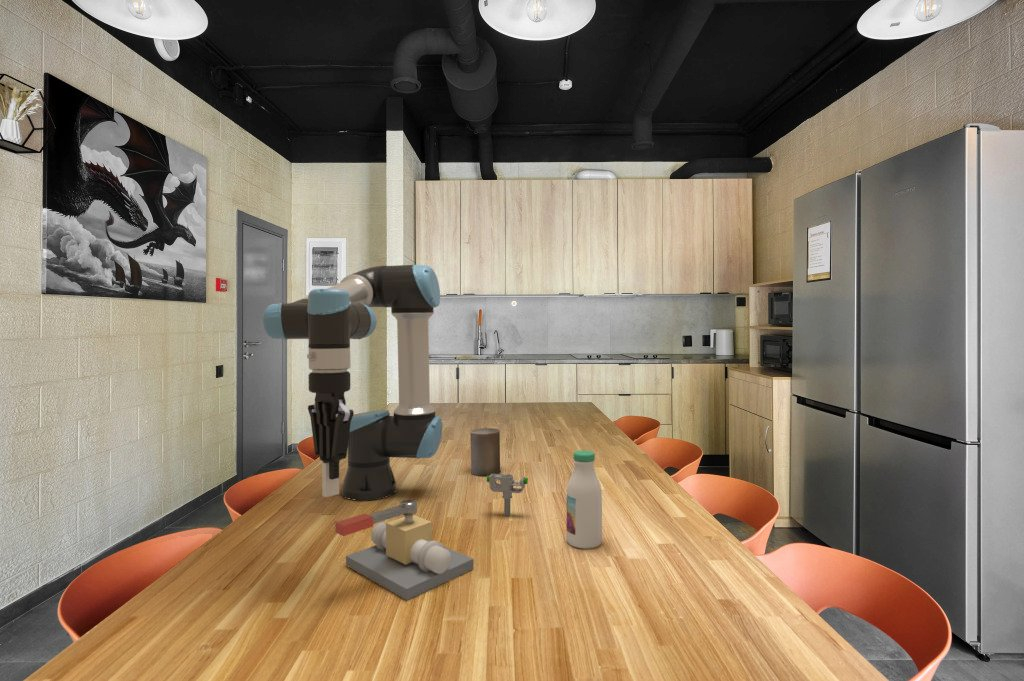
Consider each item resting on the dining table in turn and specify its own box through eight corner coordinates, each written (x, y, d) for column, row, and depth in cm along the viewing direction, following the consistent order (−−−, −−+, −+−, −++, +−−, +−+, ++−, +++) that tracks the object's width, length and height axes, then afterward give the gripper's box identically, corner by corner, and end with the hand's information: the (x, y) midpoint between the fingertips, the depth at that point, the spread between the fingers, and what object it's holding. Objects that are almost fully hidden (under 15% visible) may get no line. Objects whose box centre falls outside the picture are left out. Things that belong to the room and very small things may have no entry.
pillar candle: (506, 470, 174) (505, 425, 174) (489, 478, 166) (488, 430, 165) (482, 467, 179) (481, 423, 179) (464, 473, 171) (463, 427, 171)
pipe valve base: (346, 565, 105) (345, 512, 105) (411, 541, 117) (410, 493, 117) (406, 600, 92) (406, 539, 92) (473, 568, 104) (473, 514, 104)
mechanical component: (526, 518, 131) (526, 478, 130) (486, 515, 133) (485, 476, 132) (528, 514, 134) (528, 475, 133) (489, 511, 136) (488, 473, 135)
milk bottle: (604, 537, 119) (604, 449, 118) (598, 551, 111) (598, 457, 111) (570, 533, 121) (570, 447, 121) (562, 547, 114) (562, 454, 113)
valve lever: (410, 508, 107) (410, 498, 107) (420, 512, 104) (420, 502, 104) (334, 532, 94) (334, 521, 94) (344, 537, 92) (343, 525, 92)
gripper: (294, 370, 102) (295, 492, 102) (328, 373, 93) (329, 507, 93) (330, 368, 107) (331, 484, 108) (366, 371, 98) (367, 497, 99)
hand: (330, 494), depth 100 cm, fingers closed
